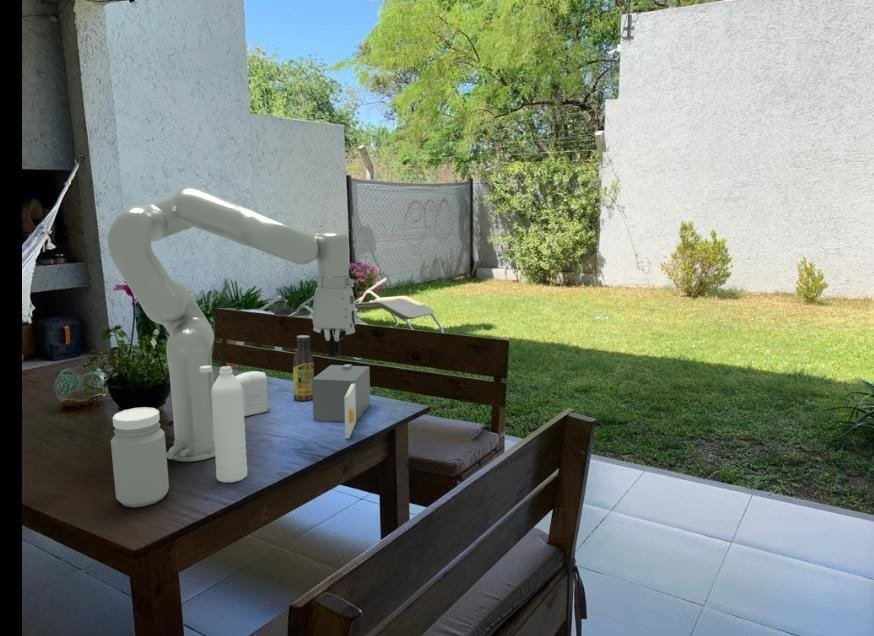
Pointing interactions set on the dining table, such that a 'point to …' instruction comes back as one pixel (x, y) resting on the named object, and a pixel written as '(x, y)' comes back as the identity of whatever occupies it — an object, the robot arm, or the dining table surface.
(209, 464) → the dining table surface
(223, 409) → the water bottle
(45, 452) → the dining table surface
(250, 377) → the photo printer
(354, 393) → the side door
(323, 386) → the gray box
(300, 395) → the sauce bottle
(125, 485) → the jar
